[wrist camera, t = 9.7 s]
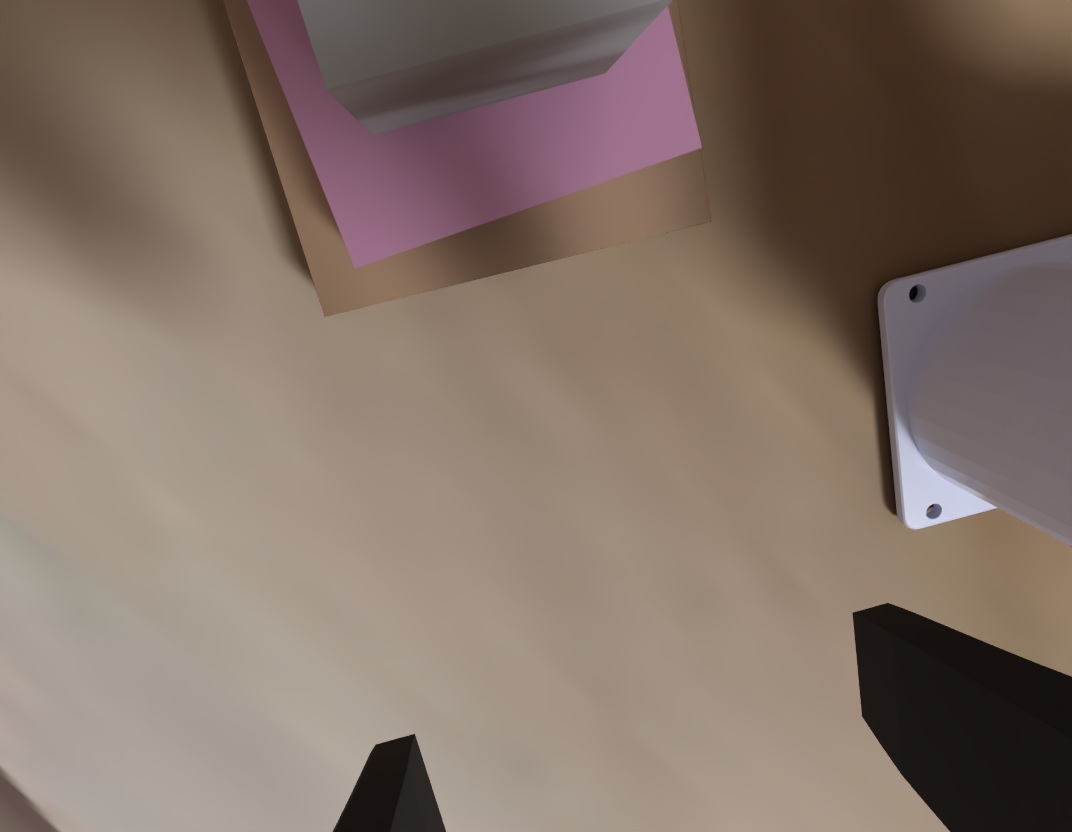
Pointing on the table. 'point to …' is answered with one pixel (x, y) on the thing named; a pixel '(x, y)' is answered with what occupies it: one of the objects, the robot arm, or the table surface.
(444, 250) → the walnut base block
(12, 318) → the table surface
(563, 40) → the slate cube
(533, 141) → the plum top block
